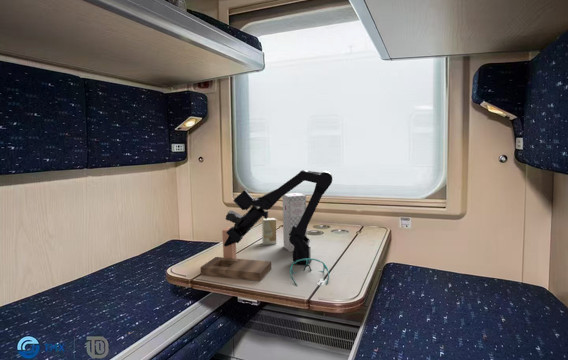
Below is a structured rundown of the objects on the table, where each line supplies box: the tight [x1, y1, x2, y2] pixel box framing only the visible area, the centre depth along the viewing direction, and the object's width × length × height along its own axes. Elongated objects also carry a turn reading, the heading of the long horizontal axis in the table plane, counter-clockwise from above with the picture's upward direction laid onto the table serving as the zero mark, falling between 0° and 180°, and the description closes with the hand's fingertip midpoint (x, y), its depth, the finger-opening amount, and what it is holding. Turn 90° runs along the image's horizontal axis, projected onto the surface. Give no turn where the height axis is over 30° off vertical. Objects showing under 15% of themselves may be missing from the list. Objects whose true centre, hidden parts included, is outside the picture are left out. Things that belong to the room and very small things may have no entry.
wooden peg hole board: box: [199, 256, 272, 282], centre depth 132 cm, size 24×12×3 cm, turn 73°
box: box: [281, 192, 308, 253], centre depth 159 cm, size 8×8×25 cm
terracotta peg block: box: [221, 227, 237, 259], centre depth 144 cm, size 4×4×13 cm
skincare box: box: [261, 217, 277, 246], centre depth 168 cm, size 6×4×12 cm
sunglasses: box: [289, 257, 330, 287], centre depth 125 cm, size 14×15×5 cm
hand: (226, 243), depth 145 cm, fingers closed on terracotta peg block, 4 cm apart
